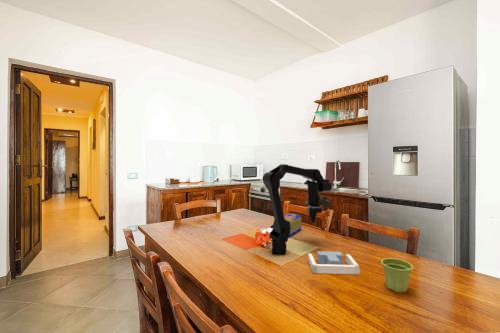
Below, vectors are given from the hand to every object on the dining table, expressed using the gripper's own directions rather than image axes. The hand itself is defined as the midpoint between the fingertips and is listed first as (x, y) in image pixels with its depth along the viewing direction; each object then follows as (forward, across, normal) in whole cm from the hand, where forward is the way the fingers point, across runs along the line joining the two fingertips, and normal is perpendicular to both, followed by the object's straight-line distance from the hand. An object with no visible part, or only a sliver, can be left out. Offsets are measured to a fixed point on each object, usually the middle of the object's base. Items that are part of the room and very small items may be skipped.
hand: (313, 222), depth 127 cm
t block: (+12, -23, -4) cm, 27 cm away
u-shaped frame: (+12, -25, -4) cm, 28 cm away
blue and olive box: (+12, +20, +13) cm, 27 cm away
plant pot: (+12, -40, -23) cm, 48 cm away
